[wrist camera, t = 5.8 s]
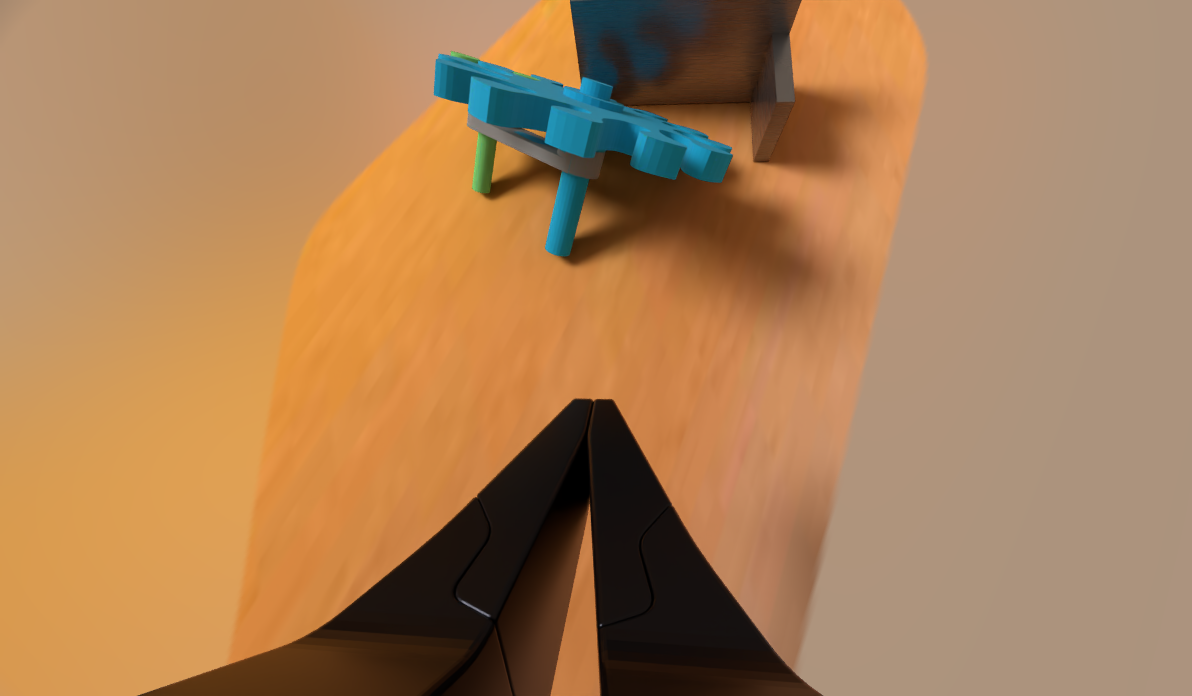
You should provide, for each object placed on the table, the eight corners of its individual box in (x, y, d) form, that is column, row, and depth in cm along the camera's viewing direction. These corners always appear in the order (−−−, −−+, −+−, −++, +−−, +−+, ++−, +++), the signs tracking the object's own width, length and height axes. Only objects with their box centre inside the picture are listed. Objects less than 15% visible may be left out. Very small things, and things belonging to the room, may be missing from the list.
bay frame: (768, 161, 18) (812, 62, 13) (580, 163, 18) (564, 70, 14) (763, 82, 19) (803, -33, 14) (585, 87, 19) (571, -21, 15)
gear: (777, 140, 16) (663, 117, 8) (711, 280, 19) (584, 358, 11) (552, 60, 20) (332, -6, 12) (528, 188, 23) (341, 200, 15)
